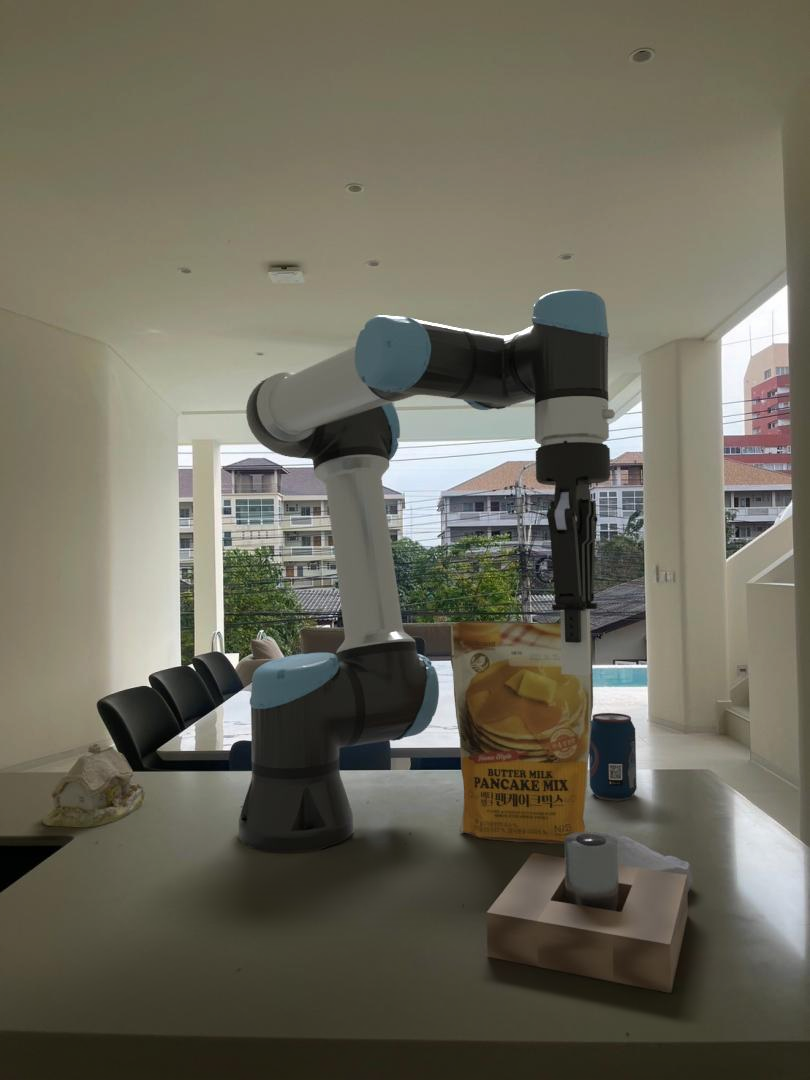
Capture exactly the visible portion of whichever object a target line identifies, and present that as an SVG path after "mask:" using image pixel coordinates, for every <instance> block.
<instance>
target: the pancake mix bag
mask: <svg viewBox="0 0 810 1080" xmlns="http://www.w3.org/2000/svg"><path fill="white" fill-rule="evenodd" d="M447 628H448V634H449V635H448V636H449V651H450V664H451V668H452V669H451V670H452V677H453V678H452V679H453V680H452V681H453V695H454V707H455V716H456V717H455V718H456V723H457V730H458V735H459V748H460V770H461V774H462V775H461V776H462V780H463V781H462V782H463V808H462V809H463V812H462V818H461V824H460V827H459V832H461V833H466V834H468V835H472V836H474V837H475V838H476V839H477V838H479V839H484V840H485V839H486V840H494V841H496V840H497V841H506V842H507V841H508V842H518V843H519V842H522V843H523V842H524V843H538V844H540V843H541V844H552V845H553V844H556V845H557V844H559V845H560V844H562V845H565V837H566V836H567V835H569V834H572V833H577V832H587V830H586V825H585V822H584V813H585V807H586V799H587V798H586V795H587V787H588V773H589V772H588V770H589V749H590V737H591V728H592V725H591V721H592V716H593V709H594V685H593V683H594V679H593V678H594V677H593V675H594V673H593V671H594V670H593V658H594V647H593V646H594V644H593V636H592V631H591V629H590V645H591V674H589V675H569V674H562V666H561V622H532V621H531V622H530V621H521V620H520V621H518V620H467V621H457V622H455V623H454V624H452V625H450V626H448V627H447Z"/></svg>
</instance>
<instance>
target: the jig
mask: <svg viewBox="0 0 810 1080" xmlns="http://www.w3.org/2000/svg"><path fill="white" fill-rule="evenodd" d="M618 884H619V912H618V911H612V910H605V909H599V908H593V907H587V906H581V905H575V904H569V903H566V893H565V856H564V857H561V856H558V855H557V856H556V855H550V854H548V855H547V854H542V853H534V852H532V853H531V855H530V856H529V857H528V859H527V860H526V861H525V862H524V864H523V865H522V866H521V867H520V869H519V870H518V871H517V873H516V874H515V875H514V876H513V877H512V879H511V880H510V882H509V883H508V884H507V885H506V887H505V888H504V890H503V891H501V893H500V895H499V896H497V898H496V900H495V901H494V902H493V904H492V905H491V906H490V907H489V909H488V910H487V911H486V948H487V949H486V954H487V955H486V957H488V958H492V959H498V960H503V961H506V962H507V961H509V962H514V963H518V964H523V965H527V966H532V967H538V968H541V969H542V968H543V969H548V970H553V971H558V972H563V973H568V974H573V975H578V976H581V977H582V976H583V977H588V978H593V979H599V980H602V981H603V980H604V981H608V982H613V983H619V984H624V985H628V986H633V987H638V988H643V989H647V990H653V991H658V992H664V993H668V994H672V990H673V986H674V981H675V976H676V974H677V973H676V971H677V967H678V963H679V958H680V954H681V953H680V952H681V949H682V944H683V939H684V934H685V930H686V925H687V921H688V915H689V911H688V909H689V906H688V901H689V900H688V893H687V875H685V874H678V873H671V872H664V871H656V870H649V869H642V868H635V867H628V866H621V865H618Z"/></svg>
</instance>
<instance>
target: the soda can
mask: <svg viewBox="0 0 810 1080" xmlns="http://www.w3.org/2000/svg"><path fill="white" fill-rule="evenodd" d="M591 725H592V728H591V737H590V749H589V759H588V770H589V787H590V789H591V791H592V792H593V794H594V797H596V798H599V799H601V800H604V801H605V800H606V801H613V802H614V801H615V802H616V801H617V802H619V801H627V800H630V799H632V798H633V796H634V795H635V792H636V791H637V788H638V787H637V752H636V751H637V749H636V745H637V743H636V728H635V726H634V723H633V721H632V717H631V716H630V715H628V714H625V713H624V714H623V713H615V712H603V713H602V712H601V713H595V714H592V716H591Z"/></svg>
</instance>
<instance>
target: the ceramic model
mask: <svg viewBox="0 0 810 1080" xmlns="http://www.w3.org/2000/svg"><path fill="white" fill-rule="evenodd" d="M87 749H88V752H85V753H84V754H82V755H80V756H79V757H78V759H77V760H76V762H75V763H74V764H73V765H72V767H71V768H70V769H69V770H68V771H67V773H66V775H64V776H63V777H62V778H61V779H60V780H59V781H58V783H57V784H56V785H55V787H54V789H53V790H52V791H51V794H50V795H51V797H52V798H53V808H52V809H51V810H50V811H49V812H47V813H45V816H44V818H43V821H42V822H43V824H44V825H45V826H49V827H61V826H62V827H73V828H74V827H75V828H89V827H97V826H101V825H102V826H103V825H105V824H106V825H107V824H110V823H114V822H117V821H120V819H122V818H124V817H126V816H128V815H130V814H131V813H133V812H135V810H136V811H137V809H140V807H141V806H142V804H143V801H144V800H145V796H146V792H145V786H144V785H143V784H142V783H136V784H135V783H131V779H132V777H134V771H133V769H132V767H131V766H130V764H129V762H128V760H127V759H126V757H125V755H124V754H123V753H121V752H119V751H117V750H116V749H114V746H109V745H108V746H107V745H105V746H102V747H101V745H100V744H97V743H96V744H95V743H94V744H93V745H90V746H89V747H87Z"/></svg>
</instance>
